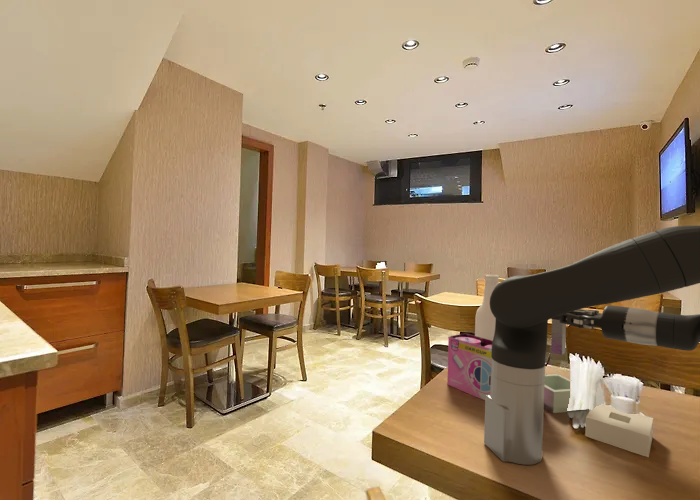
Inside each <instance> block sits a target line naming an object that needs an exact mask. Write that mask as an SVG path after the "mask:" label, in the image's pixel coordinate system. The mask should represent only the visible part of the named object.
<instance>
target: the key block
mask: <svg viewBox="0 0 700 500" xmlns="http://www.w3.org/2000/svg"><path fill="white" fill-rule="evenodd" d="M615 408H616V407H615ZM615 408H614V406H611V405H608V404H604V403H601V405H599V406H596V407H595V408H594V409H592V410H591V409H590V410H588V413H587V414H586V416H585V431H584V432H585V434H584V435H585V437H587V438H589V439H593V440H595V441H598V442H601V443H605V444H608V445H610V446H613V447H616V448H620V449H622V450H625V451H628V452H630V453H633V454H635V455H636V454H637V455H640V456H642V457H646V458H648V459H649V457H650V453H651V447H652V441H653V437H654V436H653V431H654V417H651V416H648V415H643V414H640V413H637V414H627V413H623V412H620V411H618V410H616V409H615Z"/></svg>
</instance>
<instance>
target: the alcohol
mask: <svg viewBox="0 0 700 500" xmlns="http://www.w3.org/2000/svg"><path fill="white" fill-rule="evenodd" d="M484 277H485V279H484V282H485V283H484V291H483V300H482V304H481V305H480V306H479V307H478V308H477V310H476V311H475V313H476V314H475V316H474V317H475V321H474V323H475V325H474V336H477V337H481V338H485V339H488V340H492V341H493V338H494V333H495V323H496V318H495V317H494V315H493V314H492V312H491V309H490V297H491V294H492V292H493V290H494V288H495V287H496V286H497V285H498V284H499V283H500V276H499V275H498V274H485V275H484Z"/></svg>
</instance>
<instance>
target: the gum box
mask: <svg viewBox="0 0 700 500" xmlns="http://www.w3.org/2000/svg"><path fill="white" fill-rule="evenodd" d="M447 339H448V343H447V345H448V347H447V350H448V351H447V355H448V356H447V379H446V380H447V382H446V384H447V385H448V386H451V387H452V388H455V389H457V390H459V391H462V392H464V393H466V394H469V395H471V396H472V397H476V398H478V399H481V400H483V401H485V398H486V396H487V395H490V385H491V353H492V342H493V341H492V340H488V339H485V338H481V337H477V336H475V335H473V334H470V333H466V332H465V333H461V334H455V335H451V336H448V338H447Z"/></svg>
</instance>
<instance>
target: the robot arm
mask: <svg viewBox="0 0 700 500" xmlns="http://www.w3.org/2000/svg"><path fill="white" fill-rule="evenodd" d="M498 283H499V284H498V285H497V286H496V287H495V288H494V290H493V292H492V294H491V297H490V309H491V312H492V314H493V315H494V317H495V318H496V323H495V333H494V338H493V342H492V353H491V385H490V395H487V396H486V398H485V400H484V405H485V406H484V428H483V429H484V431H483V436H484V437H483V443H484V445H485V446H486V447H487V448H488V449H489V450H491V451H492V453H493V454H495V456H496V457H498V459H500V460H501V461H502V462H504V463H505V462H510V463H512V464H513V463H514V464H519V465H527V466H528V465H535V464H538V463H539V462H541V461H542V458H543V441H544V440H543V438H544V436H543V435H544V409H545V408H544V386H545V375H546V355H547V345H548V326H549V323H548V322H549V320H552V319H556V320H559V321H560V323H564V324H566V326H567V325H568V326H572V327H575V328H579V329H582V328H583V329H584V328H585V329H589V330H590V329H591V330H593V329H594V328H599V329H601V333H602V335H603V337H604V338H606V339H609V340H610V339H611V340H615V341H622V342H626V343H627V342H628V343H633V344H638V345H646V346H657V347H661V348H667V349H673V350H679V351H687V352H688V351H689V352H690V351H694V350H695V349H696V348H697V347H698V345H699V344H700V314H699V313H698V314H690V315H689V314H688V315H684V314H676V313H670V312H669V313H667V312H660V311H655V310H650V309H644V308H636V307H629V306H620V305H619V306H618V305H611V304H614V303H619V302H625V301H630V300H634V299H641V298H645V297H649V296H654V295H655V296H656V295H658V294H663V293H667V292H670V291H674V290H679V289H683V288H688V287H691V286H694V285H698V284H700V225H679V226H678V225H677V226H676V225H675V226H669V227H664V228H660V229H657V230H655V231H651V232H648V233H645V234H642V235H638V236H635V237H633V238H629V239H626V240H623V241H621V242H619V243H615V244H613V245H611V246H608V247H605V248H604V249H601V250H599V251H596V252H595V253H592V254H590V255H588V256H586V257H584V258H582V259H580V260H578V261H575V262H572V263H571V264H568V265H565V266H562V267H559V268H555V269H551V270H547V271H544V272H539V273H535V274H529V275H522V274H521V275H513V276H510V277H508V278H505V279H503V280H502V281H499V282H498ZM607 304H608V305H607ZM600 305H601V306H603V305H606V306H604V308H603V309H602V313H601V312H600V311H599V310H597V309H586V308H591V307H595V306H600Z"/></svg>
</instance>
